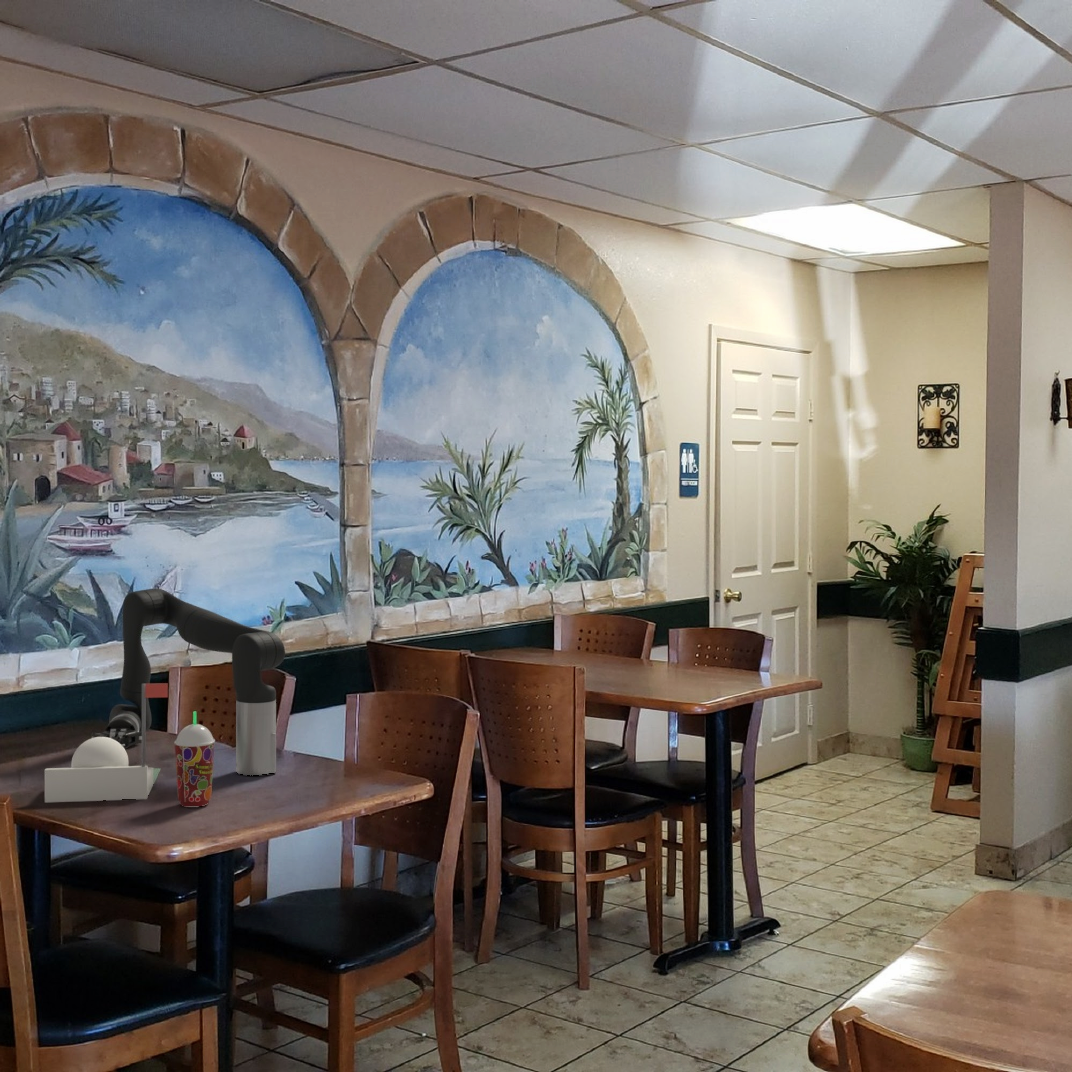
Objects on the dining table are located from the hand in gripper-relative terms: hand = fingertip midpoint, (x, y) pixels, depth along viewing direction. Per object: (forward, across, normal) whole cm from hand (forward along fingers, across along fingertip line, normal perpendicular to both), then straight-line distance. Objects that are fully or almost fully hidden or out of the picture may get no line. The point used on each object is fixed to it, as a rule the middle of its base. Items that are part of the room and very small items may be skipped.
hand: (113, 744), depth 304 cm
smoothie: (+35, +21, +7) cm, 41 cm away
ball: (+20, 0, 0) cm, 21 cm away
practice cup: (+13, +2, +7) cm, 15 cm away
